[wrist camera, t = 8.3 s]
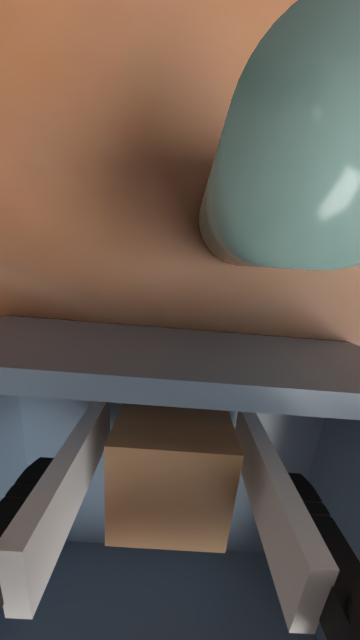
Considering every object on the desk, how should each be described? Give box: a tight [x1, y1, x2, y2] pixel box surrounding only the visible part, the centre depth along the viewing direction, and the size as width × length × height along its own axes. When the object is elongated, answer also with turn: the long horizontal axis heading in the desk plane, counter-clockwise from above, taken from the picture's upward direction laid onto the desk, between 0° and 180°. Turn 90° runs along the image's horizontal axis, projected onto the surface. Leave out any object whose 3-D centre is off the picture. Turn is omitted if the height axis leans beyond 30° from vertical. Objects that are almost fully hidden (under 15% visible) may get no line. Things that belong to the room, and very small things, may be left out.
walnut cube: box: [104, 403, 244, 553], centre depth 10 cm, size 5×5×5 cm
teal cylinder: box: [199, 0, 360, 270], centre depth 7 cm, size 5×5×7 cm
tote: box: [0, 315, 360, 640], centre depth 12 cm, size 18×21×6 cm
